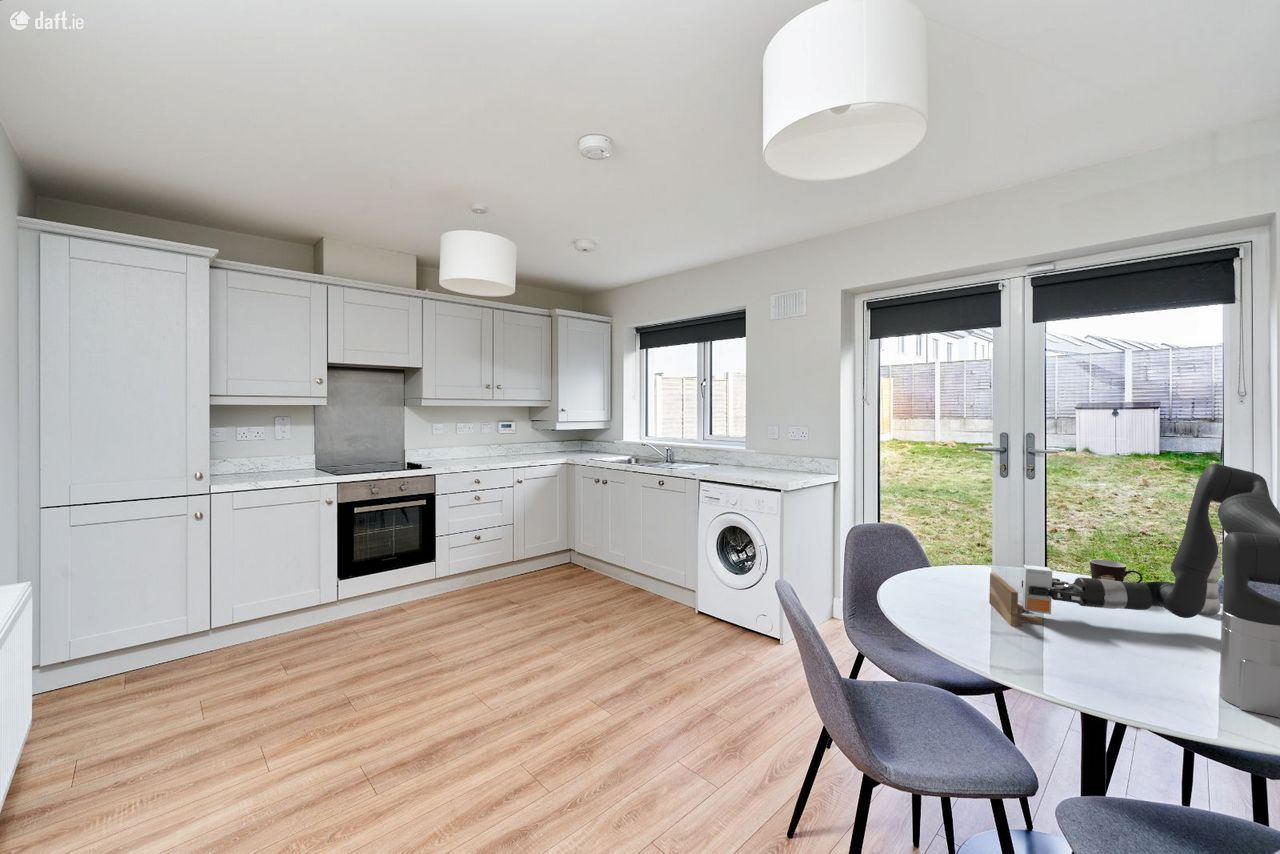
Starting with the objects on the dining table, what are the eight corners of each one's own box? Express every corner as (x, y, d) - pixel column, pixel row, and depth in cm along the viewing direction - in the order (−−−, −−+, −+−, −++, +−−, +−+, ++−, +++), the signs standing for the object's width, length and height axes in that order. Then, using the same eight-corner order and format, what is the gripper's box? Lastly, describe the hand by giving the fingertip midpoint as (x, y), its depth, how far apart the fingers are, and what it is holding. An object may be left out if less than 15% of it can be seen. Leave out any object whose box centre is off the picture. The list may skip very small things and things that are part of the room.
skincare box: (1024, 611, 149) (1025, 568, 149) (1022, 606, 153) (1022, 564, 153) (1052, 615, 147) (1052, 571, 146) (1048, 609, 150) (1049, 567, 150)
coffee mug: (1082, 592, 171) (1083, 561, 170) (1097, 588, 174) (1098, 558, 174) (1128, 604, 160) (1129, 571, 160) (1143, 600, 164) (1144, 567, 163)
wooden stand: (1022, 605, 159) (1023, 575, 158) (1048, 629, 141) (1049, 595, 141) (989, 602, 161) (990, 572, 161) (1010, 625, 144) (1011, 591, 144)
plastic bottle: (1227, 618, 150) (1230, 546, 149) (1198, 616, 151) (1200, 545, 151) (1208, 609, 156) (1210, 540, 155) (1180, 608, 157) (1182, 539, 157)
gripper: (1087, 571, 152) (1016, 566, 157) (1114, 587, 139) (1035, 581, 144) (1086, 598, 152) (1016, 592, 158) (1113, 616, 139) (1035, 609, 144)
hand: (1026, 587), depth 151 cm, fingers closed on skincare box, 5 cm apart
